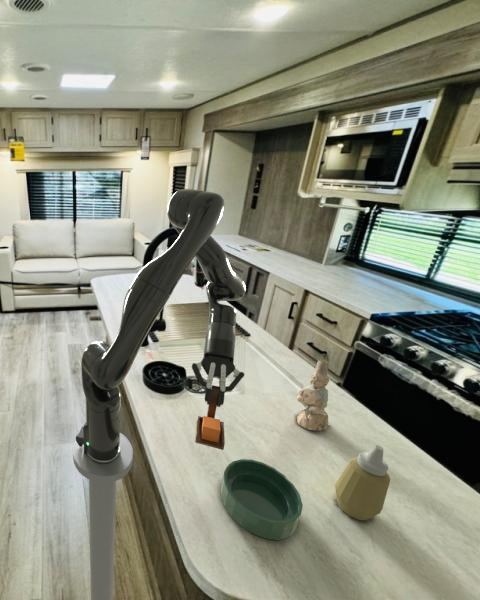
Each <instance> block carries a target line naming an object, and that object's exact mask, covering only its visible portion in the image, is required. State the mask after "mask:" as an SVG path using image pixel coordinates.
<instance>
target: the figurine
mask: <svg viewBox="0 0 480 600" xmlns="http://www.w3.org/2000/svg"><path fill="white" fill-rule="evenodd" d="M329 367H330V363H329V362H328V361H327V362H326V361H323V360H317V363H316V365H315V368H314V371H313V372H312V373H311V379H310V380H309V384H308V385H307V386H305V387H304V388H303V389H301V390H299V391H298V396H297V397H296V399H297V402H298V403H300V404H301V405H302V406H303V407H304V408H302V409H301V411H299V415H297V417H296V419H297V420H296V421H297V424H298V425H299V426H300V427H302V428H304V429H307V430H309V431H325V430H329V429H330V428H331V425H330V423H329V415H328V413H327V412H326V410H325V409H326V408H327V407H328V401H329V390H328V388H326V387H327V386H328V384H329V382H330V378H329V377H328V373H329Z"/></svg>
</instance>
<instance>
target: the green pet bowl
mask: <svg viewBox="0 0 480 600" xmlns="http://www.w3.org/2000/svg"><path fill="white" fill-rule="evenodd" d="M220 498H221V501H222V504H223V506H224V508H225V510H226V511H227V512H228V514H229V515H230V516H231V518H232V519H233V520H234V522H237V524H239V526H240V527H241V528H243V529H245V530H246V531H248V532H250V533H251V534H253V535H254V536H258V537H261V538H264V539H267V540H278V541H280V540H284V539H287V538H289V537H291V536H292V535H293V533H294V532H295V531H296V530H297V527H298V524H299V521H300V518H301V516H302V512H303V501H302V498H301V494H300V493H299V490H297V488H296V485H294V483H293V482H292V481H291V480H290V479H289V478H288V477H287V476H286V475H284V474H283V473H282V472H280V471H279V470H278V469H276V468H275V467H272V466H270V465H269V464H267V463H264V462H262V461H258V460H254V459H247V458H246V459H245V458H240V459H237V460H233V461H232V462H230V463H229V464H228V465H226V467H225V469H224V471H223V474H222V479H221V485H220Z"/></svg>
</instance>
